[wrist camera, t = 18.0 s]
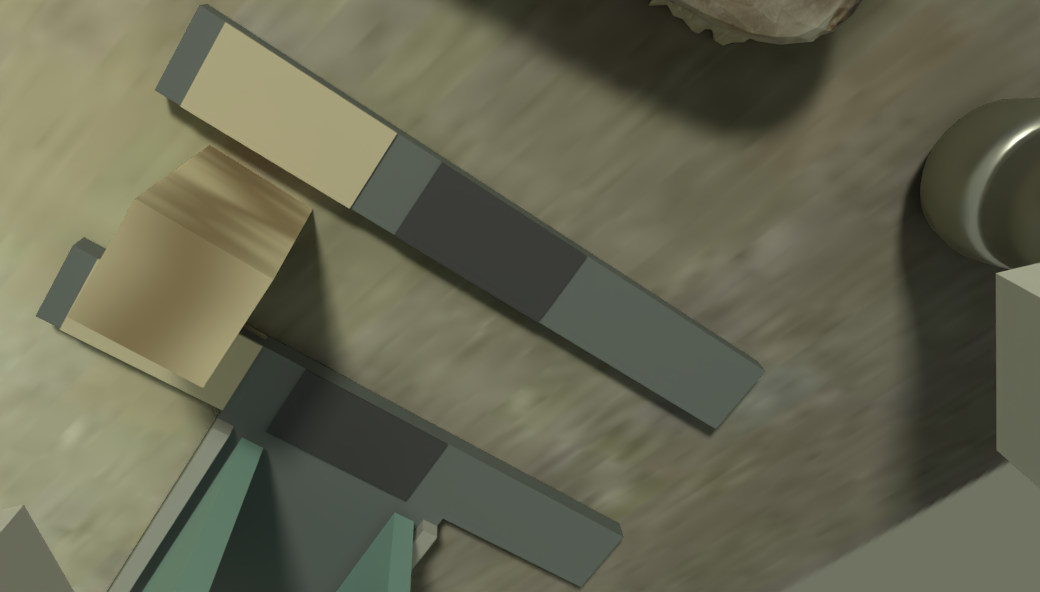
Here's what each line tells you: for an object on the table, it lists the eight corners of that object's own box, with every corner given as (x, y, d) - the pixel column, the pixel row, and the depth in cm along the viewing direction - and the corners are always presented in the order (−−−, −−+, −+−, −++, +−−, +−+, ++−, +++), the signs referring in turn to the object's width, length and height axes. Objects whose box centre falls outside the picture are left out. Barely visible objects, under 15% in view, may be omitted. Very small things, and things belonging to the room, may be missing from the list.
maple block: (312, 209, 32) (273, 279, 24) (256, 295, 33) (202, 387, 25) (209, 145, 30) (134, 198, 23) (154, 237, 32) (67, 316, 24)
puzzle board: (756, 361, 36) (772, 379, 34) (442, 732, 43) (443, 762, 41) (207, 4, 29) (193, 5, 27) (-68, 524, 35) (-93, 550, 34)
